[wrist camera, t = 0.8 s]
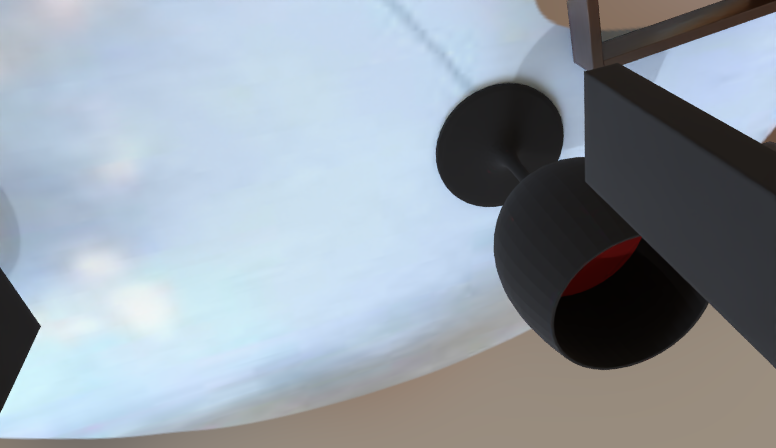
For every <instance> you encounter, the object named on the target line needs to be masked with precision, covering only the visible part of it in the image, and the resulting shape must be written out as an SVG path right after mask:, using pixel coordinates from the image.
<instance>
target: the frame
mask: <svg viewBox="0 0 776 448" xmlns="http://www.w3.org/2000/svg"><path fill="white" fill-rule="evenodd" d="M567 7H568V15H569V24H570V33H571V41H572V50H573V59H574V63H576V64H577V65H579V66H581V67H582V68H584V69H585V70H587V71H588V70H592V69H596V68H600V67H604V66H608V65H611V64H615V63H619V64H621V65H624V64H627V63H630V62H633V61H635V60H638V59H641V58H644V57H647V56H650V55H653V54H656V53H658V52H661V51H664V50H667V49H670V48H673V47H676V46H679V45H681V44H684V43H687V42H690V41H693V40H696V39H699V38H702V37H704V36H707V35H710V34H713V33H716V32H719V31H722V30H725V29H727V28H730V27H733V26H736V25H739V24H742V23H745V22H748V21H750V20H753V19H756V18H759V17H762V16H765V15H768V14H771V13H773V12H776V0H723V1H720V2H717V3H715V4H711V5H708V6H706V7H703V8H700V9H697V10H694V11H691V12H689V13H686V14H682V15H680V16H677V17H674V18H671V19H668V20H665V21H662V22H659V23H657V24H654V25H651V26H648V27H645V28H642V29H639V30H636V31H634V32H631V33H628V34H625V35H622V36H619V37H616V38H613V39H611V40H608V41H605V42H602V40H601V28H600V18H599V5H598V0H567Z"/></svg>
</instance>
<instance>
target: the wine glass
mask: <svg viewBox="0 0 776 448" xmlns="http://www.w3.org/2000/svg"><path fill="white" fill-rule="evenodd" d="M563 137H564V134H563V124H562V120H561V116H560V114H559V112H558V110H557V108H556V107H555V106H554V104H553V103H552V102H551V101H550V100H549V99H548V98H547V97H546V96H545V95H544V94H542V93H541V92H539V91H538V90H536V89H534V88H531V87H529V86H526V85H521V84H513V83H505V84H498V85H494V86H490V87H487V88H484V89H482V90H480V91H478V92H476V93H474V94H472V95H471V96H469V97H468V98H466V99H465V100H464V101H463V102H462V103H460V104H459V105H458V106H457V107H456V108H455V110H454V111H453V112H452V113H451V114H450V116H449V117H448V119H447V120H446V122H445V123H444V125H443V128H442V130H441V132H440V135H439V138H438V141H437V148H436V163H437V168H438V171H439V174H440V176H441V179H442V181H443V182H444V184H445V185H446V187H447V188H448V189H449V190H450V191H451V192H452V194H454V195H455V196H456V197H458V198H459V199H461V200H463V201H465V202H467V203H469V204H473V205H476V206H482V207H496V206H502V209H501V211H500V214H499V216H498V219H497V223H496V228H495V233H494V257H495V263H496V268H497V272H498V275H499V278H500V280H501V283H502V285H503V288H504V290H505V292H506V294H507V296H508V298H509V299H510V301H511V302H512V304H513V306H514V307H515V309H516V310H517V311H518V313H519V314H520V316H521V317H522V318H523V319H524V320H525V322H526V323H527V324H528V325H529V326H530V327H531V328H532V329H533V330H534V331H535V332H536V333H537V334H538V335H539V336H540V337H541V338H542V339H543V340H544V341H545V342H546V343H548V344H549V345H550V346H551V347H552V348H554V349H555V350H556V351H557V352H559V353H560V354H561V355H563V356H564V357H565V358H567V359H568V360H570V361H572V362H573V363H575V364H577V365H580V366H582V367H586V368H591V369H598V370H610V369H618V368H623V367H628V366H632V365H635V364H638V363H641V362H643V361H646V360H648V359H650V358H653V357H654V356H656V355H658V354H660V353H662V352H663V351H665V350H666V349H668V348H669V347H671V346H672V345H674V344H675V343H676V342H677V341H679V340H680V339H681V338H682V337H683V336H684V335H685V334H686V333H687V332H688V331H689V330H690V329H691V328H692V327H693V326H694V325H695V323H696V322H697V321H698V320H699V318H700V317H701V315H702V314H703V312H704V311H705V309H706V307H707V305H708V303H709V302H708V301H707V300H705V299H704V298H703V297H702V296H701V295H700V294H699V293H698V292H697V291H696V290H695V289H694V288H693V287H692V286H691V285H690V284H689V283H688V282H687V281H686V280H685V279H684V278H683V277H682V276H681V275H680V274H679V273H678V272H677V271H676V270H675V269H674V268H673V267H672V266H671V265H670V264H669V263H668V262H667V261H666V260H665V259H664V258H663V257H662V256H661V255H660V254H659V253H658V252H657V251H656V250H655V249H654V248H653V247H651V246H650V245H649V244H648V243H647V242H646V241H645V240H644V239H643V238H642V237H641V236H640V235H639V234H638V233H637V232H636V231H635V230H634V229H633V228H632V227H631V226H630V225H629V224H628V223H627V222H626V221H625V220H624V219H623V218H622V217H621V216H620V215H619V214H618V213H617V212H616V211H615V210H614V209H613V208H612V207H611V206H610V205H609V204H608V203H607V202H606V201H605V200H604V199H603V198H602V197H601V196H600V195H599V194H597V193H596V192H595V191H594V190H593V189H592V188H591V187H590V186H589V185H588V184H587V183H586V182H585V157H576V158H569V159H563V160H559V161H558V159H559V157H560V154H561V150H562V146H563Z"/></svg>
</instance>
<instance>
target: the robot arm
mask: <svg viewBox="0 0 776 448" xmlns="http://www.w3.org/2000/svg"><path fill="white" fill-rule="evenodd" d="M584 107H585V182H586V183H587V184H588V185H589V186H590V187H591V188H592V189H593V190H594V191H595V192H596V193H597V194H599V195H600V196H601V197H602V198H603V199H604V200H605V201H606V202H607V203H608V204H609V205H610V206H611V207H612V208H613V209H614V210H615V211H616V212H617V213H618V214H619V215H620V216H621V217H622V218H623V219H624V220H625V221H626V222H627V223H628V224H629V225H630V226H631V227H632V228H633V229H634V230H635V231H636V232H637V233H638V234H639V235H640V236H641V237H642V238H643V239H644V240H645V241H646V242H647V243H648V244H649V245H650V246H651V247H653V248H654V249H655V250H656V251H657V252H658V253H659V254H660V255H661V256H662V257H663V258H664V259H665V260H666V261H667V262H668V263H669V264H670V265H671V266H672V267H673V268H674V269H675V270H676V271H677V272H678V273H679V274H680V275H681V276H682V277H683V278H684V279H685V280H686V281H687V282H688V283H689V284H690V285H691V286H692V287H693V288H694V289H695V290H696V291H697V292H698V293H699V294H700V295H701V296H702V297H703V298H704V299H705V300H707V301H708V302H709V303H710V304H711V305H712V306H713V307H714V308H715V309H716V310H717V311H718V312H719V313H720V314H721V315H722V316H723V317H724V318H725V319H726V320H727V321H728V322H729V323H730V324H731V325H732V326H733V327H734V328H735V329H736V330H737V331H738V332H739V333H740V334H741V335H742V336H743V337H744V338H745V339H746V340H747V341H748V342H749V343H750V344H751V345H752V346H753V347H754V348H755V349H756V350H757V351H759V352H760V353H761V354H762V355H763V356H764V357H765V358H766V359H767V360H768V361H769V362H770V363H771V364H772V365H773V366H774V367H775V368H776V143H774V142H766V143H763V144H761V143H759V142H758V141H756V140H754V139H752V138H750V137H749V136H747V135H745V134H743V133H742V132H740V131H738V130H736V129H734V128H733V127H731V126H729V125H727V124H726V123H724V122H722V121H720V120H718V119H717V118H715V117H713V116H711V115H710V114H708V113H706V112H704V111H702V110H701V109H699V108H697V107H695V106H694V105H692V104H690V103H688V102H686V101H685V100H683V99H681V98H679V97H678V96H676V95H674V94H672V93H670V92H669V91H667V90H665V89H663V88H662V87H660V86H658V85H656V84H654V83H653V82H651V81H649V80H647V79H646V78H644V77H642V76H640V75H638V74H637V73H635V72H633V71H631V70H630V69H628V68H626V67H624V66H622V65H621V64H619V63H615V64H611V65H608V66H604V67H600V68H596V69H592V70H588V71H584ZM40 327H41V326H40V324H39V323H38V321H37V320H36V319H35V317H34V316H33V314H32V313H31V311H30V310H29V308H28V307H27V306H26V304H25V303H24V301H23V300H22V298H21V297H20V295H19V294H18V293H17V291H16V290H15V288H14V287H13V285H12V284H11V282H10V281H9V279H8V278H7V277H6V275H5V274H4V272H3V271H2V269H1V268H0V413H1V410H2V408H3V406H4V404H5V402H6V400H7V398H8V395H9V393H10V391H11V389H12V387H13V385H14V383H15V380H16V378H17V376H18V374H19V372H20V370H21V368H22V365H23V363H24V361H25V359H26V357H27V355H28V353H29V350H30V348H31V346H32V344H33V342H34V340H35V338H36V335H37V333H38V331H39V329H40Z"/></svg>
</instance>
